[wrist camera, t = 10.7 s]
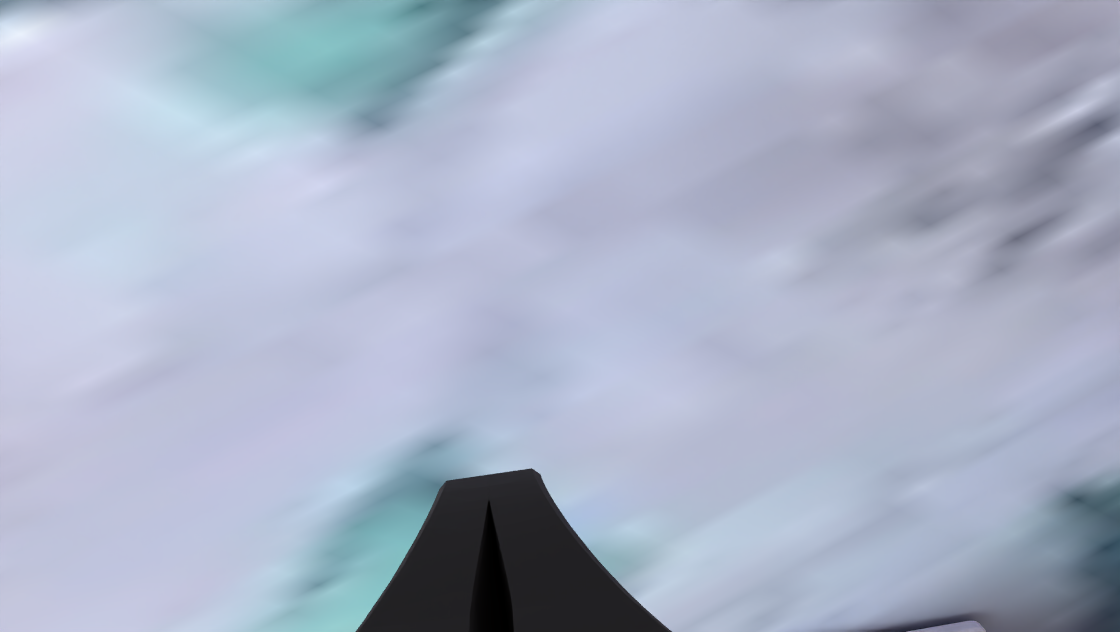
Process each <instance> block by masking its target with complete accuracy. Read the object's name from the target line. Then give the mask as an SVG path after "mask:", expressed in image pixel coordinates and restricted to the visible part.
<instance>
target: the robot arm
mask: <svg viewBox="0 0 1120 632" xmlns="http://www.w3.org/2000/svg"><path fill="white" fill-rule="evenodd" d="M356 632H672V631H670V630H669V629H668V628H667V627H665V626H664V625H663V624H662V623H661V622H660V621H659V620H658V619H656V618H655V617H654V616H653V615H652V614H651V613H650V612H648V611H647V610H646V609H645V608H644V607H643V606H642V605H641V604H640V603H639V602H638V601H637V600H635V599H634V598H633V597H632V596H631V595H630V594H629V593H628V592H627V591H626V590H625V589H624V588H623V587H622V586H621V585H620V584H619V582H618V581H617V580H616V579H615V578H614V577H613V576H612V575H611V574H610V573H609V572H608V571H607V570H606V569H605V567H604V566H603V565H602V564H601V563H600V562H599V561H598V559H597V558H596V557H595V556H594V555H593V554H592V553H591V551H590V550H589V549H588V548H587V546H586V545H585V544H584V542H583V541H582V540H581V539H580V537H579V536H578V535H577V534H576V532H575V531H574V530H573V529H572V527H571V526H570V525H569V523H568V522H567V520H566V519H565V518H564V516H563V515H562V513H561V512H560V510H559V509H558V507H557V506H556V504H555V503H554V501H553V499H552V498H551V496H550V494H549V492H548V491H547V489H546V487H545V485H544V483H543V480H542V478H541V475H540V474H539V473H538V472H536V471H535V470H534V469H525V470H518V471H511V472H504V473H497V474H490V475H483V476H476V477H469V478H463V479H456V480H449V481H446V482H445V483H444V484H443V486H442V487H441V488H440V489H439V492H438V494H437V497H436V499H435V501H434V503H433V505H432V508H431V510H430V512H429V514H428V516H427V518H426V520H425V522H424V524H423V526H422V528H421V529H420V531H419V533H418V535H417V537H416V539H415V541H414V542H413V544H412V546H411V548H410V549H409V551H408V553H407V554H406V556H405V558H404V560H403V561H402V563H401V565H400V566H399V568H398V570H397V572H396V573H395V575H394V576H393V578H392V580H391V581H390V583H389V584H388V586H387V587H386V589H385V590H384V592H383V593H382V595H381V596H380V598H379V599H378V601H377V602H376V603H375V605H374V606H373V608H372V609H371V611H370V612H369V614H368V615H367V617H366V618H365V620H364V621H363V623H362V624H361V625H360V627H359V628H358V629H357V631H356ZM908 632H987V631H986V630H985V629H984V628H983V627H982V626H981V624H980V623H979V622H976V621H964V622H958V623H953V624H947V625H941V626H936V627H930V628H925V629H919V630H913V631H908Z"/></svg>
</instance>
